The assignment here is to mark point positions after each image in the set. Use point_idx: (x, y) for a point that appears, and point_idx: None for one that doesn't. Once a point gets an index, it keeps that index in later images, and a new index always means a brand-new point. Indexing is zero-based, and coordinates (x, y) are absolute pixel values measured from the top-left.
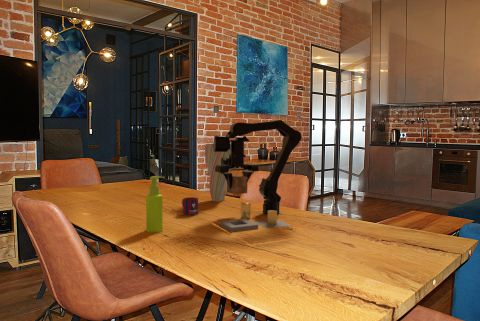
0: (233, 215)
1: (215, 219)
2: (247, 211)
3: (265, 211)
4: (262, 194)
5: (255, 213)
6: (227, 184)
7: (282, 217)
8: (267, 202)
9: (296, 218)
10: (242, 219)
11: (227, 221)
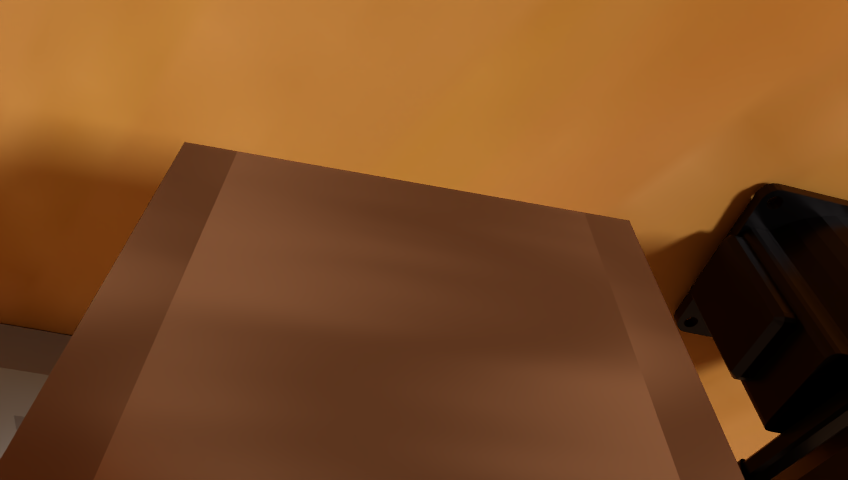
0: (391, 13)
1: (17, 49)
2: None
3: (701, 308)
4: (808, 470)
5: (728, 117)
6: (86, 342)
7: (720, 398)
8: (760, 415)
9: None
10: None
11: (11, 395)
